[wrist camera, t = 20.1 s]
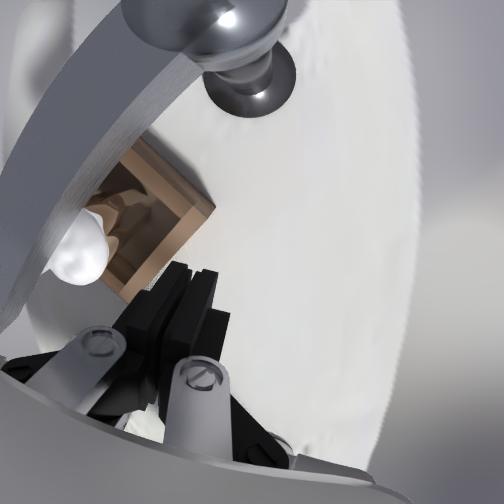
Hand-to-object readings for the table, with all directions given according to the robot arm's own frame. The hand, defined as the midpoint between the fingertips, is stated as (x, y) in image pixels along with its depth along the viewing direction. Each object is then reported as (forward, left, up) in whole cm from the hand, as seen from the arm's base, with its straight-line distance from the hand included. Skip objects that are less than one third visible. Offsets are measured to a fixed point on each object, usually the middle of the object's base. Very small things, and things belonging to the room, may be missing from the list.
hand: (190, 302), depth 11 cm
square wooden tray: (-5, +6, -12) cm, 14 cm away
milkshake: (-5, +6, -12) cm, 14 cm away
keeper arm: (+1, +6, 0) cm, 6 cm away
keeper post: (+8, +6, -12) cm, 15 cm away
